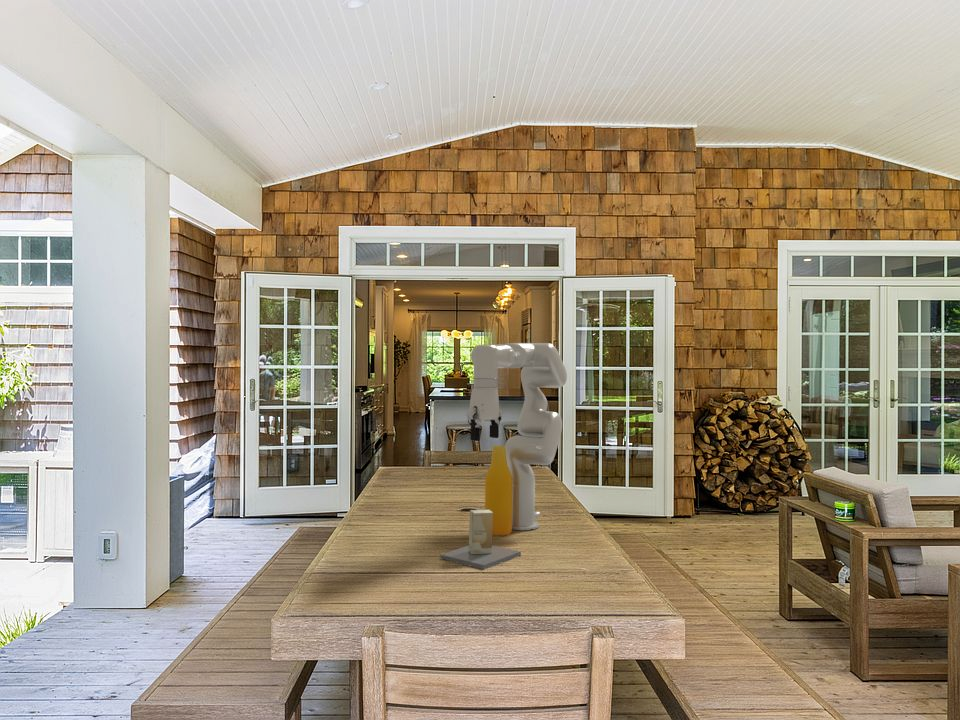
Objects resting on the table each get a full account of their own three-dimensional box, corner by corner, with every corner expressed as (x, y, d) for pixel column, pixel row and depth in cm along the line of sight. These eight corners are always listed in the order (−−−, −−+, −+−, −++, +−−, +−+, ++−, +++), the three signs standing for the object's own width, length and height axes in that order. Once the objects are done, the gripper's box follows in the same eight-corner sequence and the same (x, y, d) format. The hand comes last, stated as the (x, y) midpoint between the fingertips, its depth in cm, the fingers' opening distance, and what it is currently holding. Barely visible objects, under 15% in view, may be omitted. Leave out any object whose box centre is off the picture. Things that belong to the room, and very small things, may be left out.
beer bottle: (509, 536, 231) (510, 448, 231) (481, 535, 233) (483, 447, 233) (513, 530, 240) (514, 445, 240) (487, 528, 242) (488, 444, 242)
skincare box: (471, 555, 205) (472, 513, 205) (468, 551, 209) (468, 509, 209) (493, 553, 206) (493, 512, 206) (488, 549, 211) (489, 508, 211)
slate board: (478, 546, 219) (478, 542, 219) (520, 555, 209) (520, 551, 209) (440, 558, 205) (440, 554, 205) (484, 569, 195) (484, 565, 195)
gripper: (492, 383, 229) (491, 435, 229) (458, 384, 216) (457, 440, 216) (511, 384, 225) (510, 437, 225) (478, 385, 211) (477, 442, 211)
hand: (484, 438), depth 220 cm, fingers open, 9 cm apart
